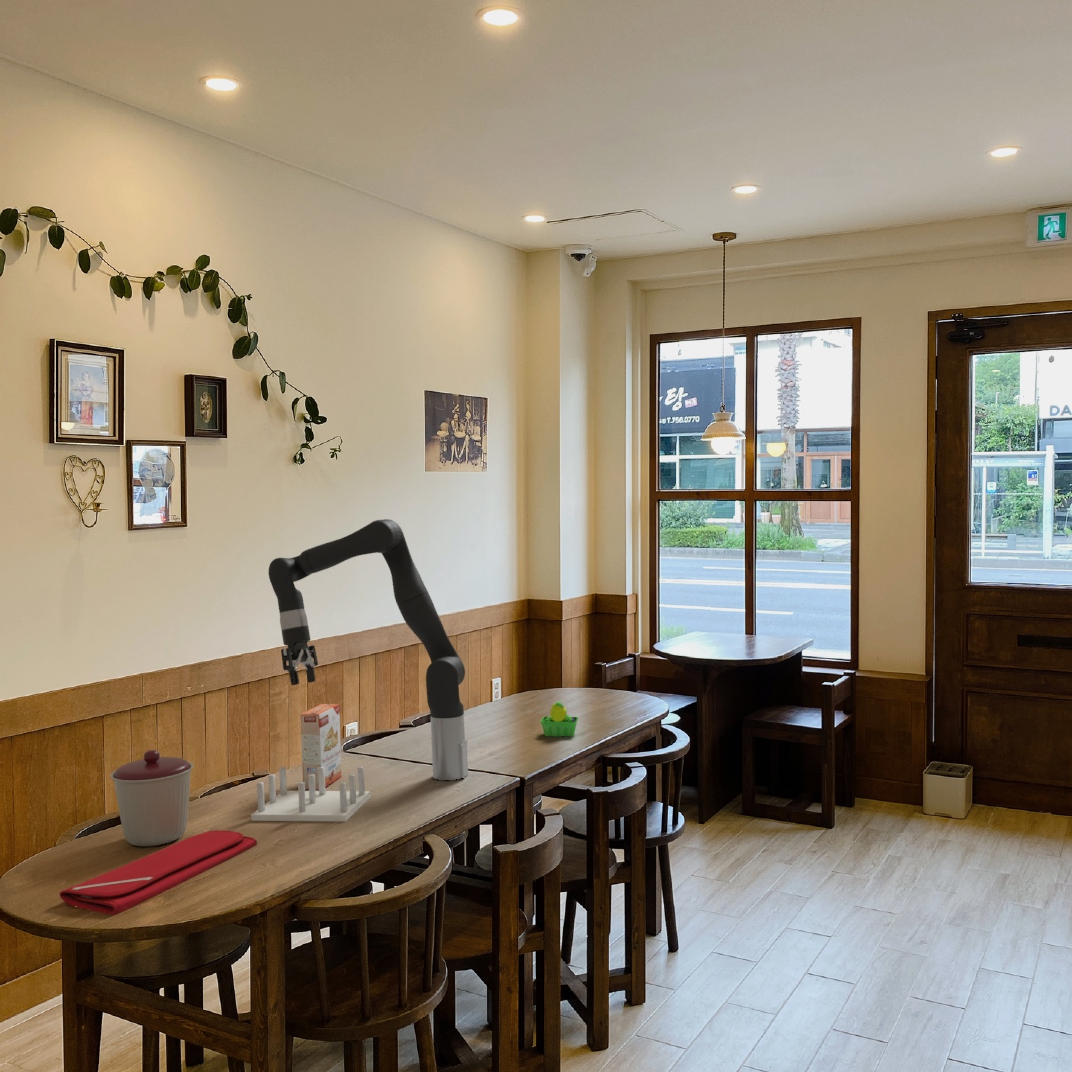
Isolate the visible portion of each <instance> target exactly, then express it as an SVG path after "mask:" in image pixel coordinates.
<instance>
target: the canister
mask: <svg viewBox="0 0 1072 1072" xmlns="http://www.w3.org/2000/svg"><path fill="white" fill-rule="evenodd" d="M193 769H194V764H193V763H192V762H191V761H188V760H187V759H184V758H181V757H177V756H176V757H174V756H160V752H159V751H158V750H156V749H148V750H147V751H145V753H144V754H143V759H138V760H134V761H131V762H127V763H125V764H123V765H120V766H119V767H118V768H117V769H115V770H114V771H113V772H111V773H110V774H109V775H110V779H111V780H112V781H113V783H114V790H115V796H116V802H117V806H118V812H119V817H120V818H119V819H120V822H121V823H120V824H121V829H122V833H123V836H124V839H125V840H126V841H127V842H128V843H129V844H130V845H133V846H137V847H154V846H155V847H157V846H161V844H162V845H165V843H166V844H168V843H171V842H173V841H177V840H178V839H180V838H181V837H182V836H183V835H184V833H185V831H186V829H187V825H188V815H189V804H190V786H191V785H190V784H191V771H193Z"/></svg>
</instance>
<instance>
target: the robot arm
mask: <svg viewBox="0 0 1072 1072" xmlns="http://www.w3.org/2000/svg"><path fill="white" fill-rule="evenodd" d="M370 554H382V557H383V558H384V561H385V562H386V564H387V566H388V569H389V571H390V574H391V575H390V576H391V580H392V581H391V582H392V588H393V596H394V599H395V602H396V603H395V604H396V605H397V607H398V610H399V612H400V614H401V616H402V619H403V620H404V622H405V624H406V625H407V626H408V628H409V630H411V631H412V632H413V634H414V635H415V636H416V637H417V638H418V639H419V641H420V642H421V643H422V645H423V646H424V648H425V650H426V652H427V654H428V656H429V660H430V662H431V663H430V664H429V665H428V667H427V669H426V672H425V673H426V674H425V687H426V698H427V699H426V700H427V706H428V709H429V712H430V734H431V735H430V736H431V737H430V738H431V758H432V759H431V760H432V761H431V762H432V777H433V779H435V780H437V779H438V781H443V780H444V781H445V780H449V781H457V780H462V779H461V778H464V779H465V778H466V777H467V776H468V774H469V764H468V763H469V762H468V740H467V739H466V735H465V709H464V704H463V703H462V702H461V699H460V689H459V686H460V685H461V684H462V683H463V681H464V679H465V677H466V670H465V669H466V667H465V665H464V663H463V660H462V659H461V657H460V656H459V654H458V653H457V651H456V649H455V647H454V645H453V644H452V642H451V639H449V636H448V635H447V632H446V630H445V628H444V625H443V623H442V621H441V619H440V617H439V614H438V612H437V611H438V610H437V609H436V607H435V605H434V602H433V600H432V598H431V597H432V596H430V593H429V591H428V589H427V587H426V586H425V583H424V581H423V580H422V576H421V574H420V572H419V570H418V569H417V567H416V564H415V562H414V560H413V558H412V554H411V552H410V549H409V547H408V544H407V541H406V537H405V534H404V532H403V529H402V527H401V526H400V525H399V523H397V521H395V520H393V519H389V518H388V519H385V518H384V519H377V520H376V519H375V520H373V521H372V522H370V523H368V524H367V525H365V526H364V527H362V528H360V529H358V530H355V531H354V532H352V533H350V534H348V535H346V536H344V537H341V538H339V539H335V540H331V541H329V542H325V543H322V544H319V545H316V546H314V547H310V548H308V549H305V550H303V551H301V553H300V554H299V555H296V556H294V557H289V558H288V557H276V558H274V559H272V561H271V562H270V564H269V566H268V578H269V581H270V584H271V586H272V590H273V592H274V594H275V596H276V599H277V604H278V611H279V624H280V630H281V636H282V642H283V645H284V646H287V647H285V648H281V650H280V653H281V661H282V668H283V670H284V671H286V672H288V675H289V679H290V684H291V686H297V685H299V684H300V679H299V672H298V666H299V665H300V664H301V665H303V666H304V668H305V669H306V671H305V673H306V679H307V682H308V684H309V683H314V682H316V673H315V668H316V666H318V665H319V662H318V656H317V652H316V646H315V645H314V644H313V645H308V643H309V642H311V635H310V629H309V627H310V626H309V623H308V617H307V614H306V610H305V603H304V598H303V594H302V591H300V590H299V589H297V588H296V586H295V582H296V583H297V582H298V581H301V580H304V579H305V578H307V577H309V576H311V575H312V574H316V573H320V572H322V571H326V570H328V569H330V568H332V567H335V566H338V565H339V564H341V563H343V562H345V561H348V560H350V559H352V558H356V557H359V556H363V555H364V556H365V555H370ZM465 776H466V777H465ZM456 779H457V780H456Z"/></svg>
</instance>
